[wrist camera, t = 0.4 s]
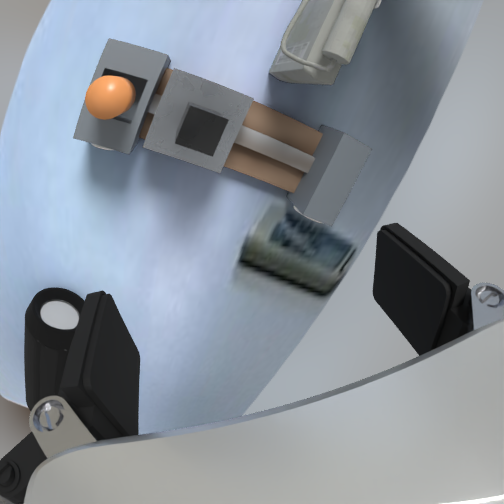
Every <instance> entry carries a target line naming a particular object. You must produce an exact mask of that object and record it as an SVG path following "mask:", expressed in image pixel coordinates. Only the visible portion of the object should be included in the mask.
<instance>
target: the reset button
mask: <svg viewBox="0 0 504 504" xmlns="http://www.w3.org/2000/svg"><path fill="white" fill-rule="evenodd" d="M135 97H136V91H135V87H134V85H133V84H132V82H131V81H129V80H128V79H126V78H124V77H118V76H103V77H100V78H98V79H96V80H95V81H94V82H93V83H92V84H91V85H90V86H89V88H88V90H87V92H86V97H85V103H86V107H87V109H88V111H89V112H90V114H91V115H93V116H94V117H96V118H98V119H103V120H106V119H111V118H114V117H116V116H118V115H120V114H122V113H125V112H126V111H127V110H129V109H130V108H131V106H132V105H133V103H134V101H135Z"/></svg>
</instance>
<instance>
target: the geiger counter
mask: <svg viewBox="0 0 504 504" xmlns="http://www.w3.org/2000/svg"><path fill="white" fill-rule="evenodd" d="M380 3H381V0H302V2H301V4H300V6H299V8H298V10H297V12H296V14H295V15H294V17H293V19H292V20H291V22H290V24H289V25H288V27H287V29H286V31H285V33H284V35H283V38H282V41H281V46H280V48H279V51H278V53H277V55H276V57H275V59H274V61H273V64H272V66H271V68H270V70H269V73H270V74H271V75H273V76H274V77H275V78H277V79H278V80H280V81H285V82H289V83H300V84H322V85H333V83H334V81H335V79H336V77H337V74H338V72H339V70H340V68H341V65H342V64H344V65H348V64H349V63H350V61H351V58H352V56H353V54H354V52H355V49H356V47H357V45H358V43H359V40H360V38H361V36H362V33H363V31H364V29H365V27H366V24H367V22H368V20H369V17H370V15H371V13H372V11H373V9H375V8H378V7H379V5H380Z"/></svg>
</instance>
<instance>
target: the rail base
mask: <svg viewBox="0 0 504 504" xmlns="http://www.w3.org/2000/svg"><path fill="white" fill-rule="evenodd" d="M172 72H173V70H172V69H169V68H166V70H165V72H164V74H163V77H162V79H161V81H160V84H159V86H158V88H157V91H156V93H155V94H154V96H153V99H152V101H151V104H150V106H149V109H148V111H147V112H148V113H147V116H146V119H145V121H144V124H143V127H142V129H141V132H140V135H139V138H142V139H146V136H147V134H148V131H149V128H150V126H151V123H152V120H153V118H154V115H155V113H156V110H157V107H158V105H159V102H160V100H161V98H162V95H163V93H164V90H165V88H166V86H167V83H168V81H169V79H170V76H171V74H172ZM322 135H323V133H321V132H319V131H317V130H315V129H313V128H311V127H309V126H307V125H305V124H303V123H301V122H299V121H297V120H295V119H293V118H290V117H288V116H286V115H284V114H282V113H280V112H278V111H276V110H273V109H271V108H269V107H267V106H264V105H262V104H260V103H258V102H255V101H253V102H252V104H251V106H250V108H249V110H248V112H247V115H246V117H245V119H244V121H243V123H242V125H241V128H240V130H239V132H238V134H237V137H236V139H235V141H234V143H233V146H232V148H231V150H230V152H229V155H228V157H227V159H226V162H225V164H224V167H227V168H230V169H233V170H235V171H238V172H241V173H243V174H246V175H249V176H251V177H254V178H256V179H259V180H262V181H264V182H267V183H269V184H272V185H274V186H277V187H279V188H282V189H284V190H287V191H289V192H292V193H294V192H295V190H296V188H297V186H298V184H299V182H300V180H301V178H302V176H303V174H304V172H306V173H308V172H309V170H310V168H311V166H312V164H313V162H314V160H315V158H314V157H313V156H312V155H313V153H314V151H315V149H316V147H317V145H318V143H319V141H320V139H321V137H322Z"/></svg>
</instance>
